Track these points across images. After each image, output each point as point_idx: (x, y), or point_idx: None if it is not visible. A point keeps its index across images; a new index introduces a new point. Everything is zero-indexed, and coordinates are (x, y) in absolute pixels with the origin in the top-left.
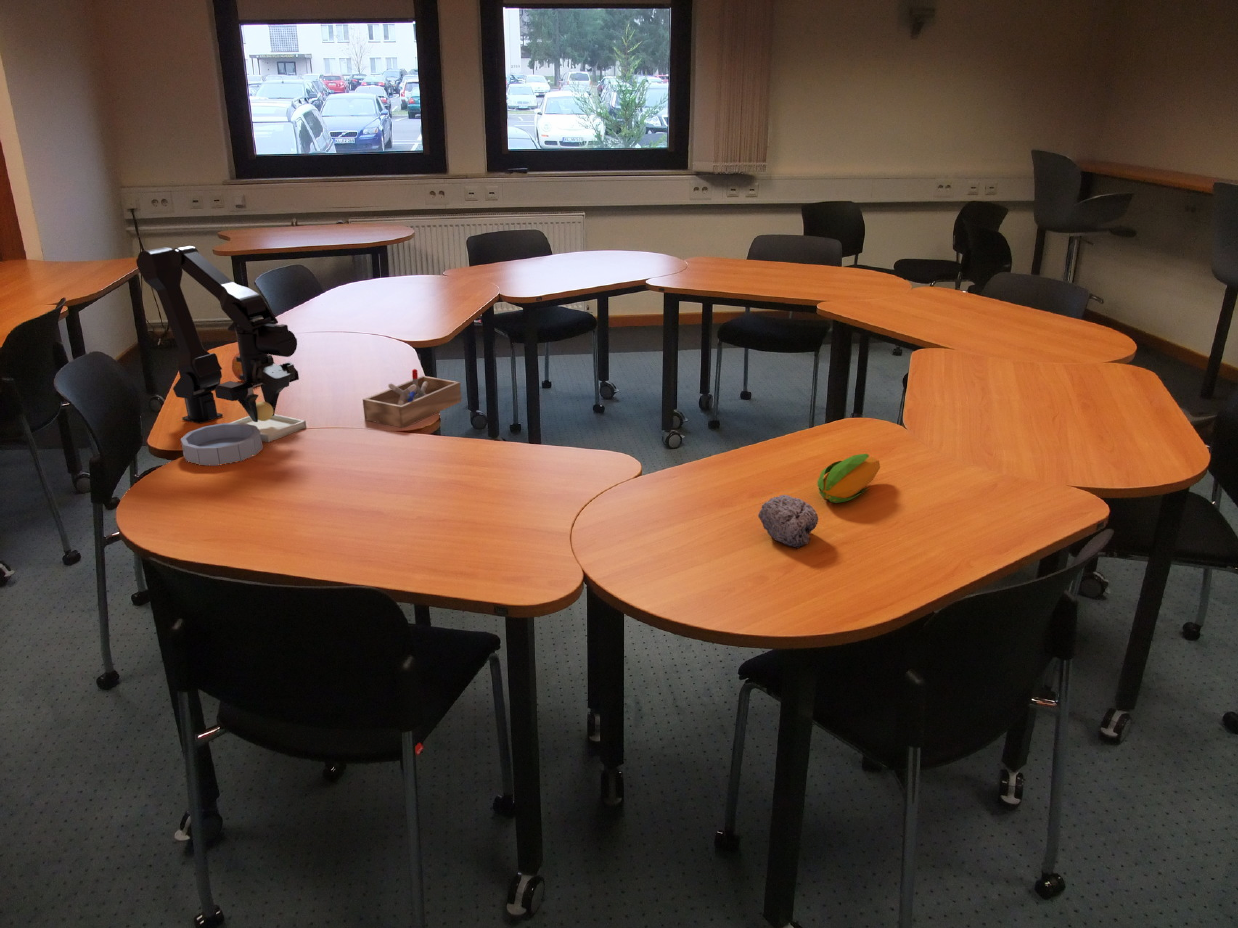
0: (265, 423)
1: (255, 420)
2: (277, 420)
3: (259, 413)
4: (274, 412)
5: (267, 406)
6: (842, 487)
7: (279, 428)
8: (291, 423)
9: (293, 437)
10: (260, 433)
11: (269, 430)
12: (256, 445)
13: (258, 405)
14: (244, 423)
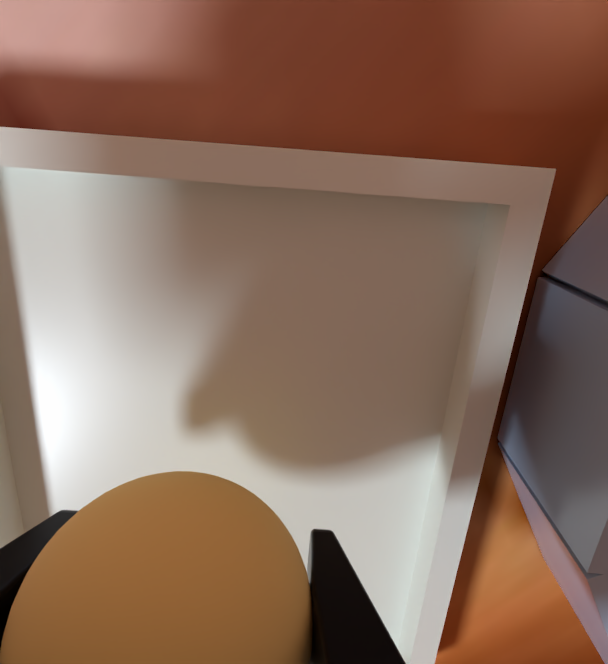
0: None
1: (339, 550)
2: (32, 491)
3: (296, 593)
4: (31, 531)
5: (122, 632)
6: None
7: (180, 321)
8: (1, 315)
9: (265, 6)
10: (507, 312)
11: (274, 372)
12: None
13: None
14: (597, 551)
